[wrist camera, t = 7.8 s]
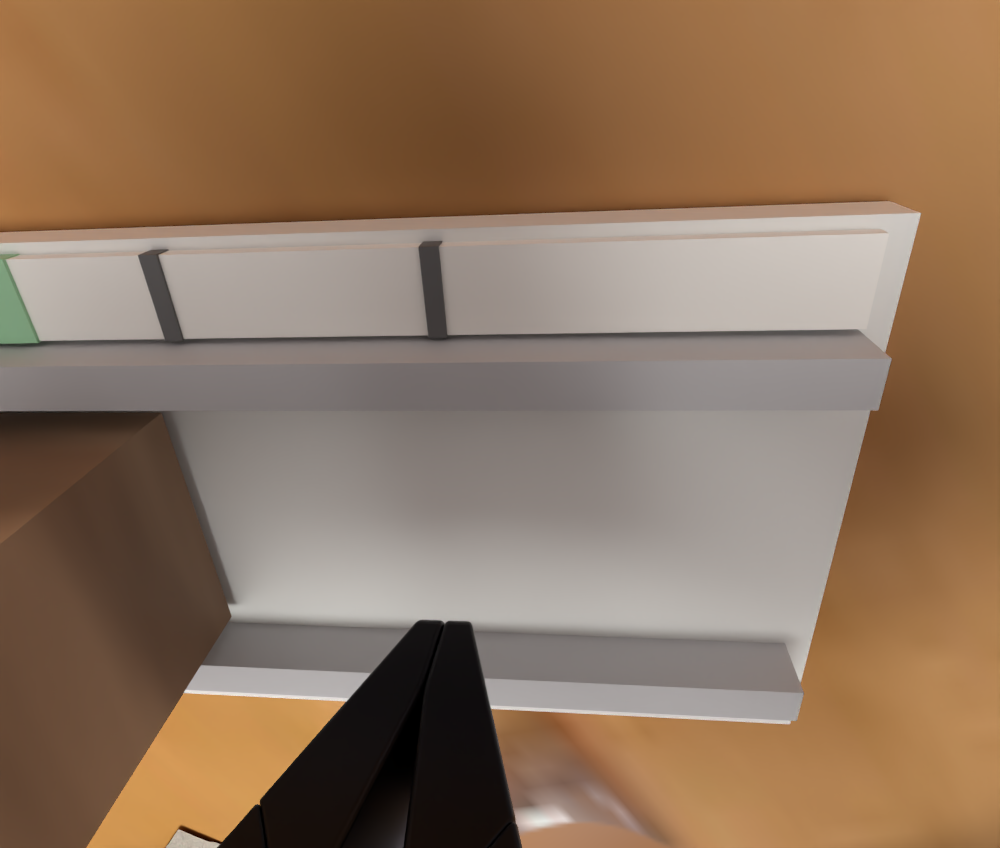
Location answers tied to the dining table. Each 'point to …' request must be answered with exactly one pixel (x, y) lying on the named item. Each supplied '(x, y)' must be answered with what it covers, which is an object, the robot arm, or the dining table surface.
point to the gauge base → (493, 433)
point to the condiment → (189, 841)
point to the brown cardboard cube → (92, 613)
